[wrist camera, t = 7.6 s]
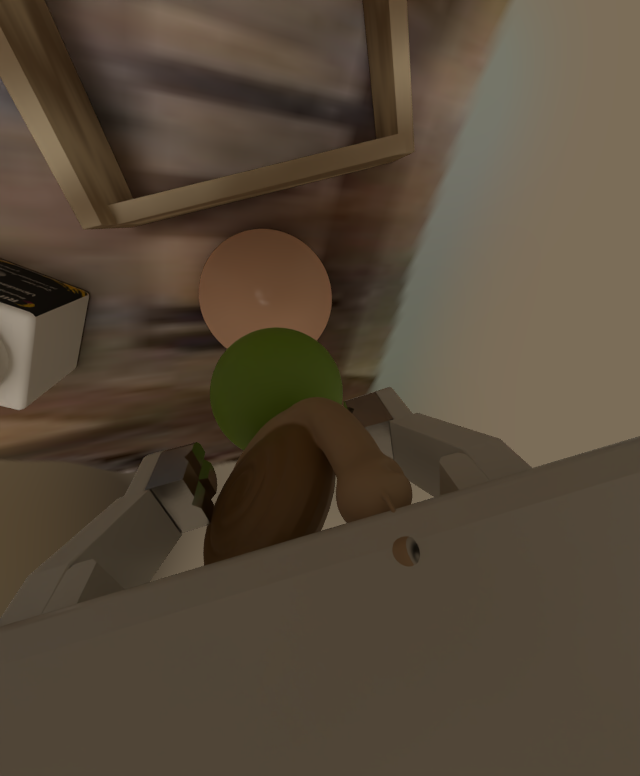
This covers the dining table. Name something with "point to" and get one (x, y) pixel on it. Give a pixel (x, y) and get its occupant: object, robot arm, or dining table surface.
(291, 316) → the tan disc
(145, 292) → the dining table surface
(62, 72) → the cold frame
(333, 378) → the snail figurine
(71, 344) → the medicine bottle
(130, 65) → the dining table surface
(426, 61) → the dining table surface
